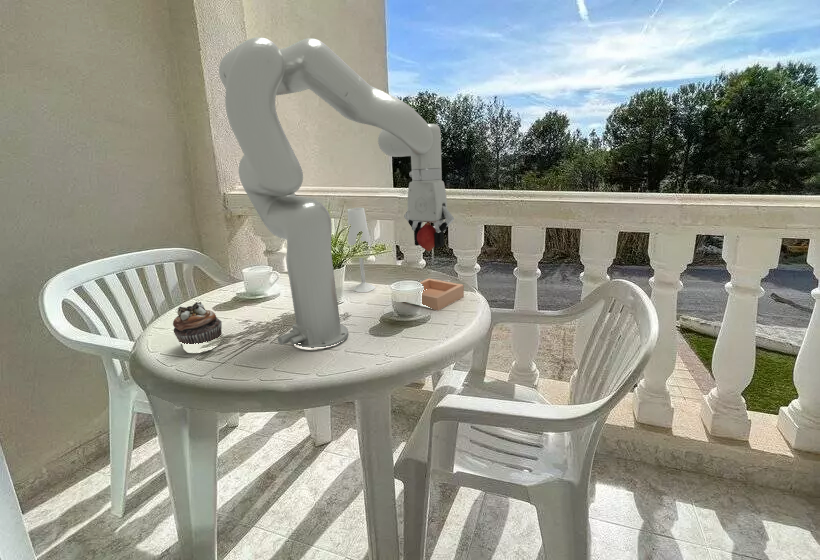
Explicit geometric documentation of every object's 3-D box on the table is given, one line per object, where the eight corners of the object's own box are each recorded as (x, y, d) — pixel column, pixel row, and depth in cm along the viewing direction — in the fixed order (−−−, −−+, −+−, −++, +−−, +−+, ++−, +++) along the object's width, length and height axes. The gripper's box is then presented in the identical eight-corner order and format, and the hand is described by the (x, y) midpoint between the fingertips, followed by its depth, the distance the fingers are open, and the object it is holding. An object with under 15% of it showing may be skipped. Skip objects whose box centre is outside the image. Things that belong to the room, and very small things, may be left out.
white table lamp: (364, 283, 132) (356, 206, 125) (379, 286, 128) (372, 207, 121) (348, 289, 127) (339, 210, 120) (363, 293, 123) (355, 211, 116)
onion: (415, 253, 110) (413, 223, 108) (420, 248, 115) (419, 219, 113) (436, 253, 108) (436, 223, 106) (441, 248, 114) (440, 219, 111)
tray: (437, 310, 107) (437, 298, 106) (402, 302, 114) (401, 290, 113) (463, 296, 115) (463, 284, 114) (429, 289, 123) (428, 278, 122)
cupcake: (190, 360, 89) (179, 316, 86) (172, 348, 96) (161, 307, 93) (233, 343, 96) (224, 302, 93) (213, 333, 102) (205, 294, 99)
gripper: (391, 177, 109) (395, 245, 114) (446, 177, 98) (448, 252, 104) (409, 175, 114) (412, 240, 120) (463, 174, 104) (464, 246, 109)
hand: (429, 245), depth 112 cm, fingers closed on onion, 5 cm apart
